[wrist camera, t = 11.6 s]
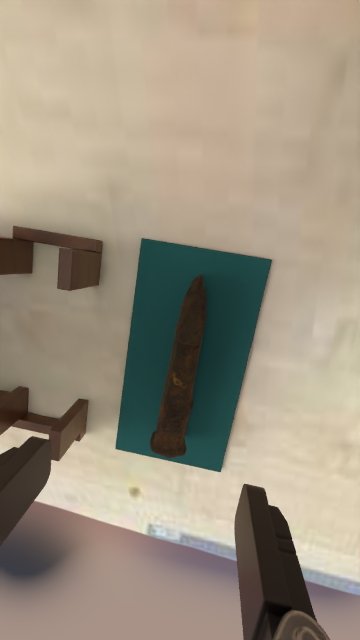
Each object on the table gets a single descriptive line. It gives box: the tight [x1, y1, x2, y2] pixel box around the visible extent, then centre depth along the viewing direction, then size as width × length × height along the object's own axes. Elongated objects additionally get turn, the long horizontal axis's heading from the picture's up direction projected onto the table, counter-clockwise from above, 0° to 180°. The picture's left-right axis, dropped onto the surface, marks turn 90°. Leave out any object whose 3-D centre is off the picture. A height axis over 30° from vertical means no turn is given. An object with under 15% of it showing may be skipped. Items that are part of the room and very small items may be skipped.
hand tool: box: [150, 274, 207, 458], centre depth 26 cm, size 19×4×5 cm, turn 167°
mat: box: [116, 238, 272, 472], centre depth 29 cm, size 13×25×1 cm, turn 171°
